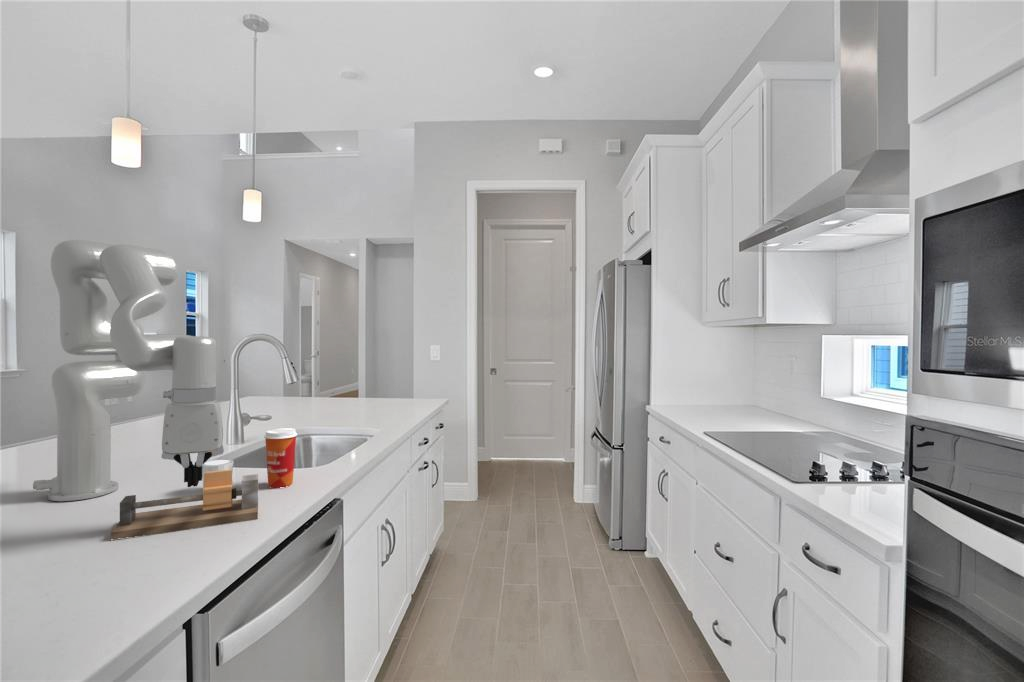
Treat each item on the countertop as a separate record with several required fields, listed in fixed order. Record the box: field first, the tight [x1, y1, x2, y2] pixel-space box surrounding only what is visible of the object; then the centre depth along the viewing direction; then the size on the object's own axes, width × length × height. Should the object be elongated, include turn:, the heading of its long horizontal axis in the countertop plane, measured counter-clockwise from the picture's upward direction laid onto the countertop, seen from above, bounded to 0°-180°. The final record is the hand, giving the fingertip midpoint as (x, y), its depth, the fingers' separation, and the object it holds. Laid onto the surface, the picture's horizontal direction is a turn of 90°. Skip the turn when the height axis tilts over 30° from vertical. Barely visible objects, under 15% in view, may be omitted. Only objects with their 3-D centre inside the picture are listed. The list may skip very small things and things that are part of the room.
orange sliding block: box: [202, 469, 234, 510], centre depth 100 cm, size 5×4×7 cm
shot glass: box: [202, 458, 234, 490], centre depth 117 cm, size 7×7×7 cm
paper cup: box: [263, 427, 298, 489], centre depth 122 cm, size 8×8×14 cm
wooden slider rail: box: [110, 473, 259, 540], centre depth 98 cm, size 24×10×8 cm, turn 118°
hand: (193, 484), depth 98 cm, fingers closed
